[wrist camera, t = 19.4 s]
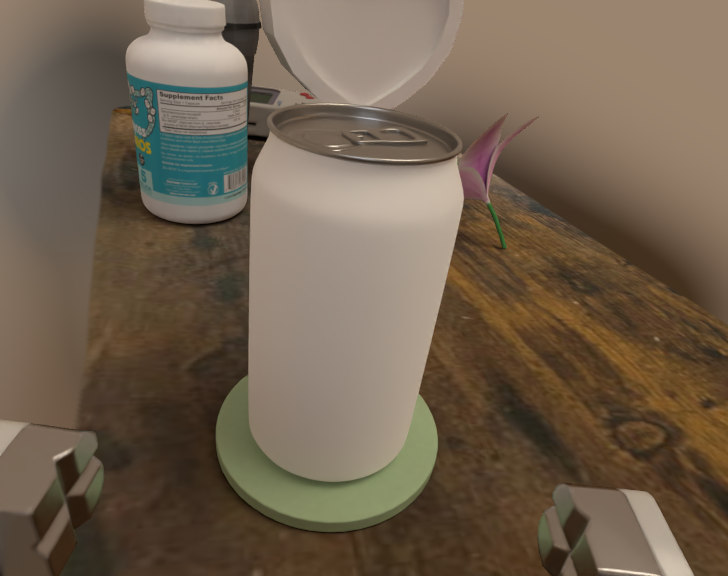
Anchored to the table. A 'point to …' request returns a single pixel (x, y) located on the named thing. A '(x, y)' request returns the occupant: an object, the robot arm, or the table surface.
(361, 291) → the can
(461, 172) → the lily
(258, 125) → the handheld gaming device
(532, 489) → the table surface
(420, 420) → the coaster
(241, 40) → the beverage cup
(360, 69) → the heart sculpture
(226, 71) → the pill bottle
